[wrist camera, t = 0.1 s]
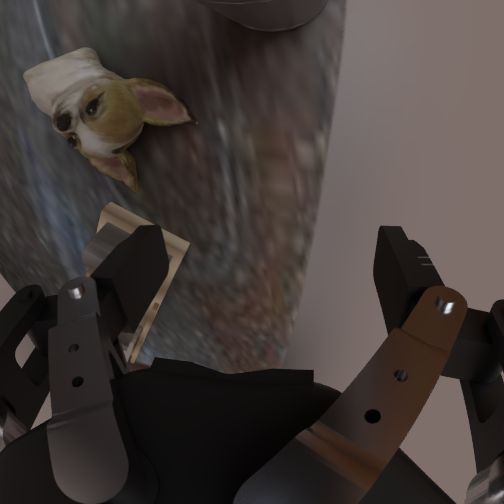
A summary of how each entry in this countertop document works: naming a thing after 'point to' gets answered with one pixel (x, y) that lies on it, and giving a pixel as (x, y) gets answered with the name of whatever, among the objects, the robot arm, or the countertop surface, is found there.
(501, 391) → the robot arm
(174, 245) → the base
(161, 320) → the countertop surface
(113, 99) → the ceramic sculpture
